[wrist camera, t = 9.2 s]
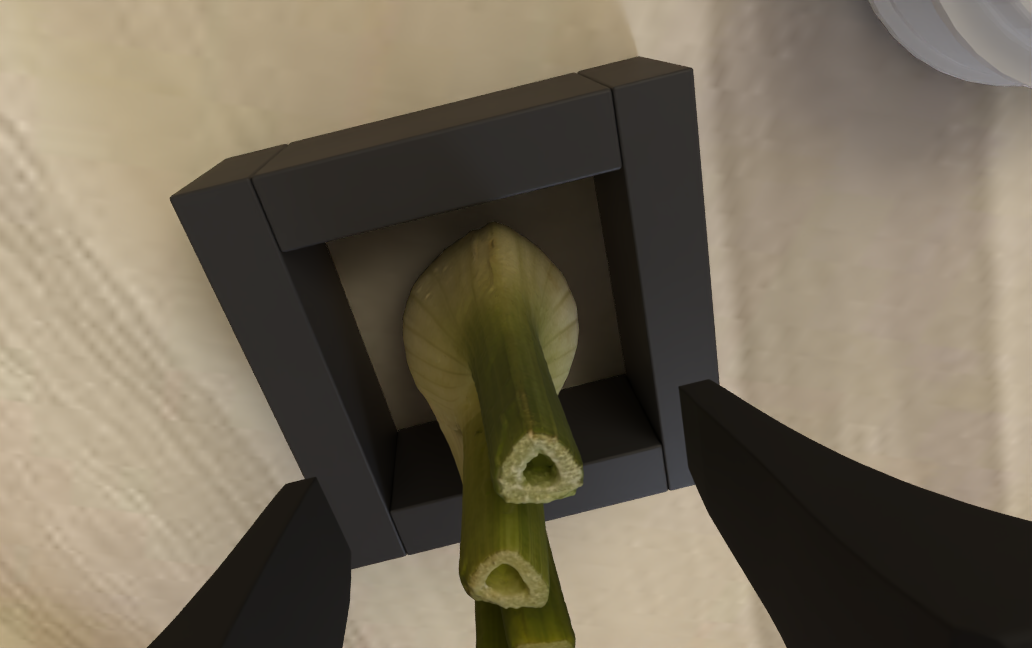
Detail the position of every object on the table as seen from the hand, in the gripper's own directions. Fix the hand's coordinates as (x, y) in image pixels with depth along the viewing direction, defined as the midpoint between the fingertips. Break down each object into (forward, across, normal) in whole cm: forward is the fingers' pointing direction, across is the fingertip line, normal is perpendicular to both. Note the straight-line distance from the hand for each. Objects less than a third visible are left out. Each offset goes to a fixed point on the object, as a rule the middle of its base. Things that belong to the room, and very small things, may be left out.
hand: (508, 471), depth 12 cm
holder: (+8, 0, 0) cm, 8 cm away
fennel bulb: (+8, 0, 0) cm, 9 cm away
